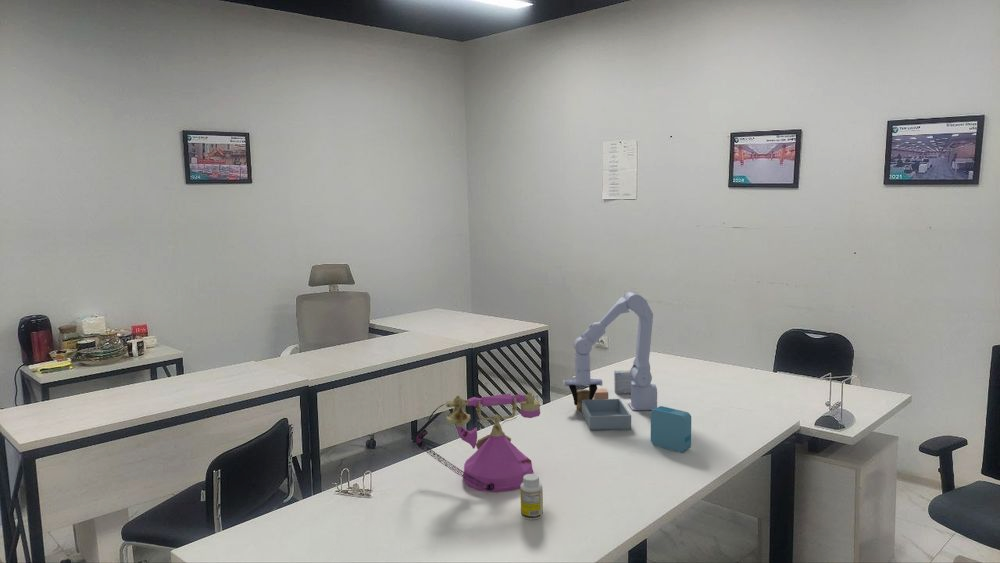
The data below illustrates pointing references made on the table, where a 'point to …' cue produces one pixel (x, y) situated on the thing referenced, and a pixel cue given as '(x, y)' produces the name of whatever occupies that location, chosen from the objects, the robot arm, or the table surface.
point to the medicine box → (622, 381)
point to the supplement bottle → (531, 497)
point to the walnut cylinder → (582, 397)
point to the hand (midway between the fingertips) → (583, 404)
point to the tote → (606, 415)
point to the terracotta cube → (601, 394)
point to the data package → (671, 429)
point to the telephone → (490, 444)
